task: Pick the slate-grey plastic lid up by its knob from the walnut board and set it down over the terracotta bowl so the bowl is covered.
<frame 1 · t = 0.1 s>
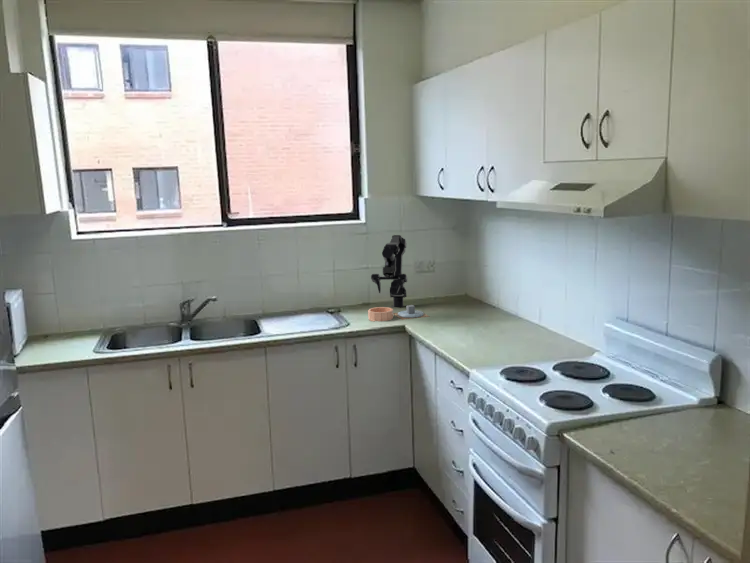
hand: (388, 293, 330), 15 cm above the worktop, fingers open, 9 cm apart
bowl: (380, 318, 336), on the worktop
board: (410, 315, 341), on the worktop
lid: (410, 314, 341), resting on board
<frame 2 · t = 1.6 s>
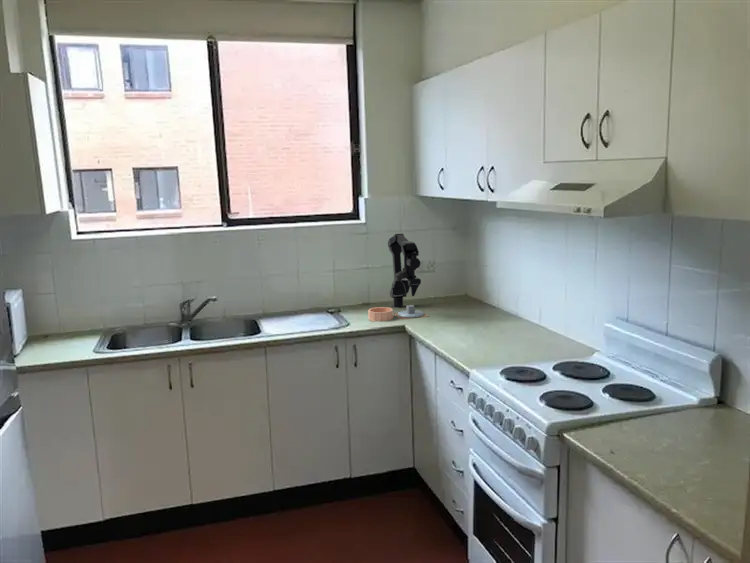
hand: (410, 294, 339), 12 cm above the worktop, fingers open, 9 cm apart
nothing on the worktop moved.
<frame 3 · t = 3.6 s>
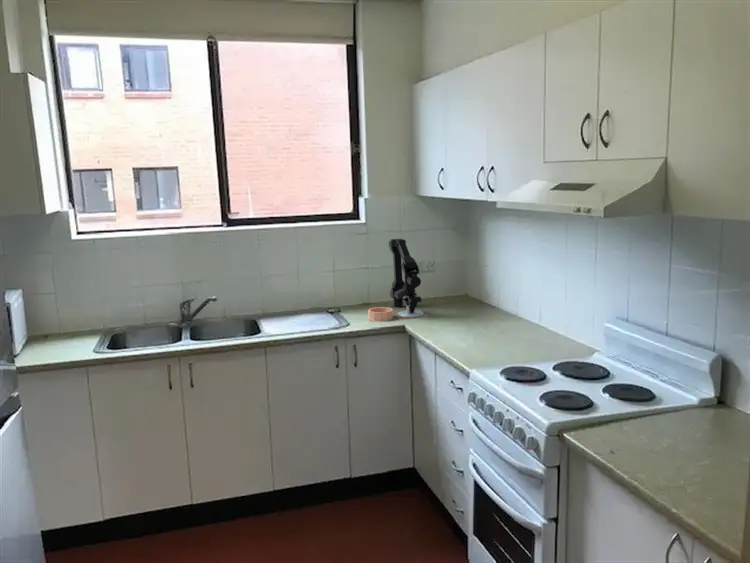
hand: (410, 312, 340), 2 cm above the worktop, fingers closed on lid, 3 cm apart
lid: (410, 314, 341), resting on board, touching gripper
when the fingers open (8 cm above the worktop, at t = 7.9 s): lid drops 1 cm, resting on bowl.
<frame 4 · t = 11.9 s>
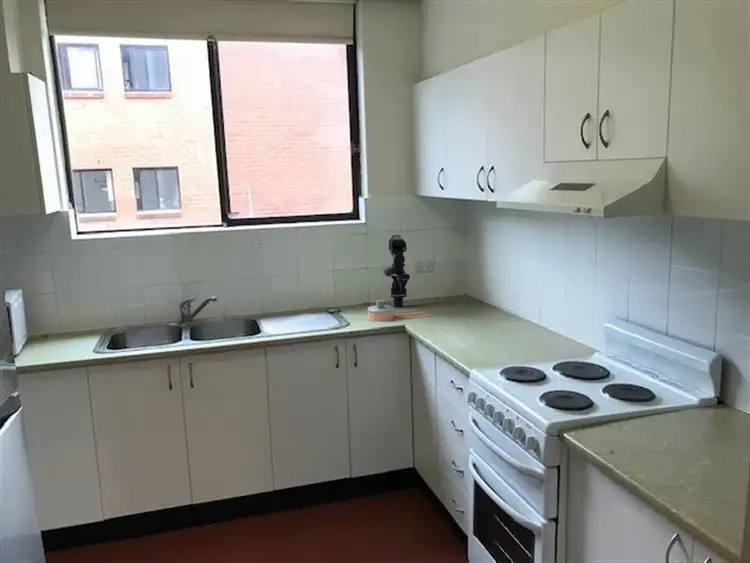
hand: (399, 289, 346), 13 cm above the worktop, fingers open, 9 cm apart
lid: (380, 309, 335), point 5 cm above the worktop, touching bowl
at the end: lid 0.1 cm off-centre on the bowl, point 5.0 cm above the bowl's base; lid tilted 0°; the gripper is holding nothing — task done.
